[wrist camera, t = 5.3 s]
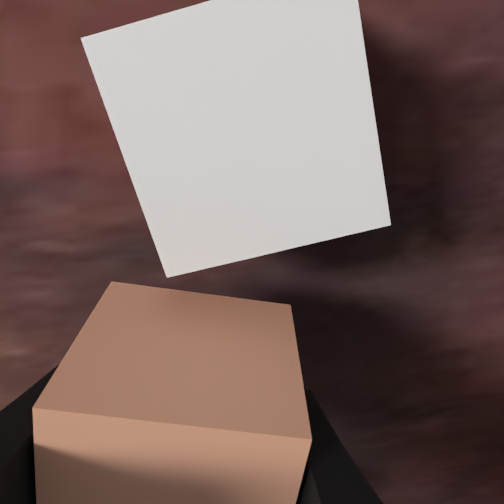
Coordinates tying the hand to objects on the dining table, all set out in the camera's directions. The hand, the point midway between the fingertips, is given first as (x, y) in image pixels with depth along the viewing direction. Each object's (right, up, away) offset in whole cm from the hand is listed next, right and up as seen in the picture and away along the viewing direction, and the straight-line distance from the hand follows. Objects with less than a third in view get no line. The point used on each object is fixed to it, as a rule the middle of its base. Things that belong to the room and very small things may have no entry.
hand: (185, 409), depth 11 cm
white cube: (+2, +8, +3) cm, 8 cm away
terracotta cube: (0, +1, +2) cm, 2 cm away
